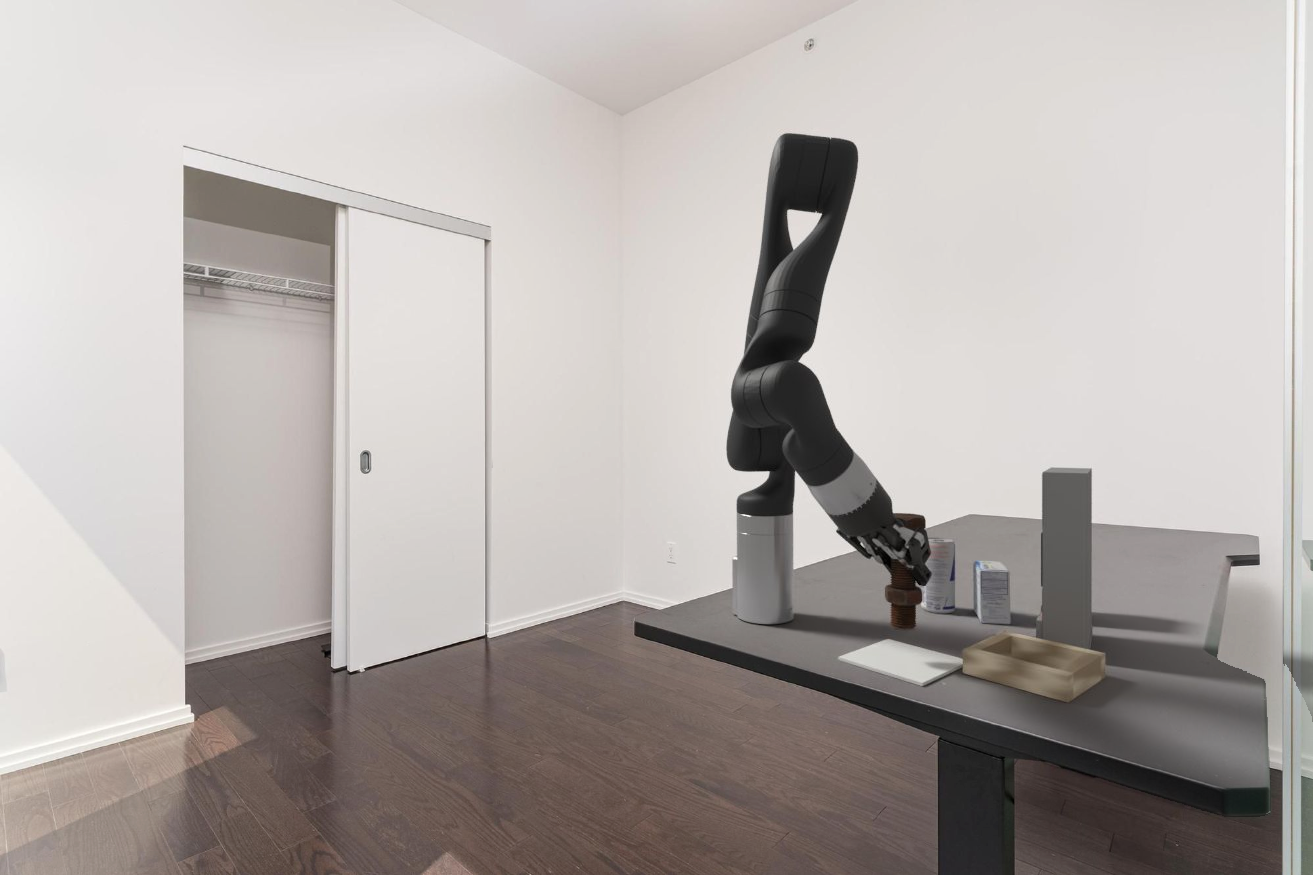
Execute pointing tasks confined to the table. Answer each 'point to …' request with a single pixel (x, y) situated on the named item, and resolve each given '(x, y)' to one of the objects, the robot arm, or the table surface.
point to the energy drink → (940, 577)
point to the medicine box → (991, 592)
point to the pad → (904, 661)
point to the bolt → (904, 583)
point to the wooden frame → (1035, 665)
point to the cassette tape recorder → (1066, 557)
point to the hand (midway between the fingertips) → (913, 577)
